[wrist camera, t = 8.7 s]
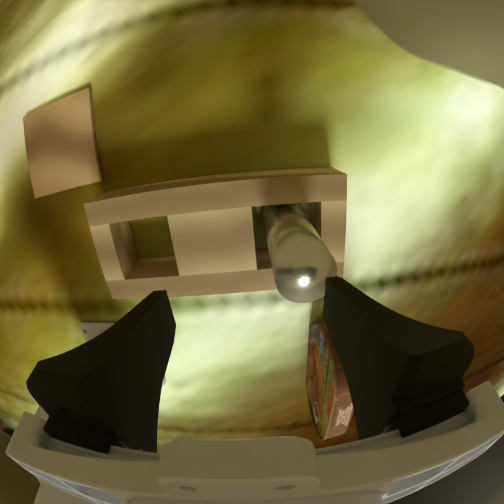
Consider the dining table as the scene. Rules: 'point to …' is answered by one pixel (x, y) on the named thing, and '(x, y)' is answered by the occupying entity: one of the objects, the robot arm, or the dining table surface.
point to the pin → (296, 253)
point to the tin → (327, 385)
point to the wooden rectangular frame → (210, 229)
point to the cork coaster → (62, 145)
